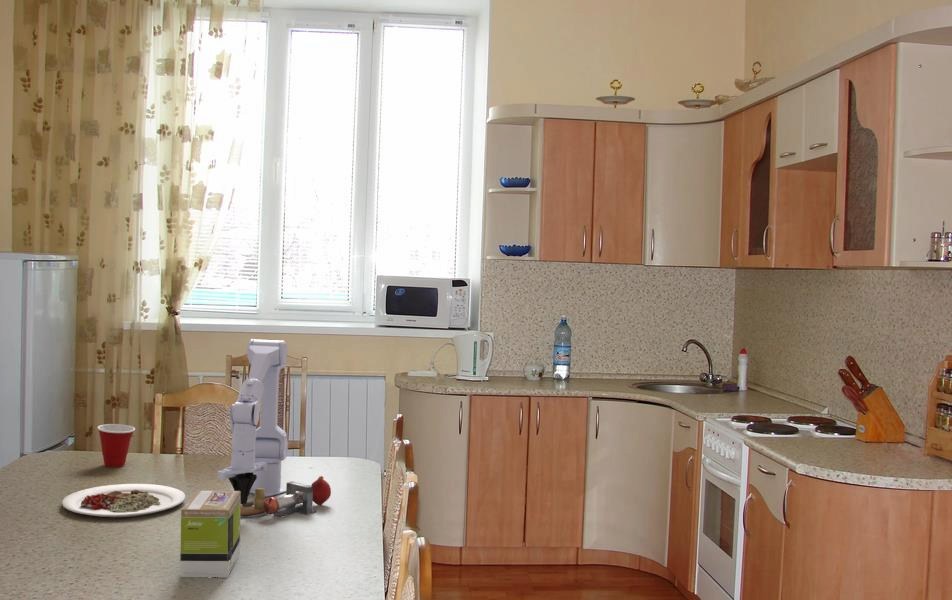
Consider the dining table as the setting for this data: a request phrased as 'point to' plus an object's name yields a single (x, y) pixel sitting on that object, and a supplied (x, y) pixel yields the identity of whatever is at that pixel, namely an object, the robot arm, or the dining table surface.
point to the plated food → (123, 500)
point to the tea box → (210, 534)
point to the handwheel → (254, 504)
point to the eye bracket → (299, 508)
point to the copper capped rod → (282, 502)
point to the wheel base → (253, 515)
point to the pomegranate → (321, 491)
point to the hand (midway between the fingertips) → (241, 503)
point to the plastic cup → (115, 443)
